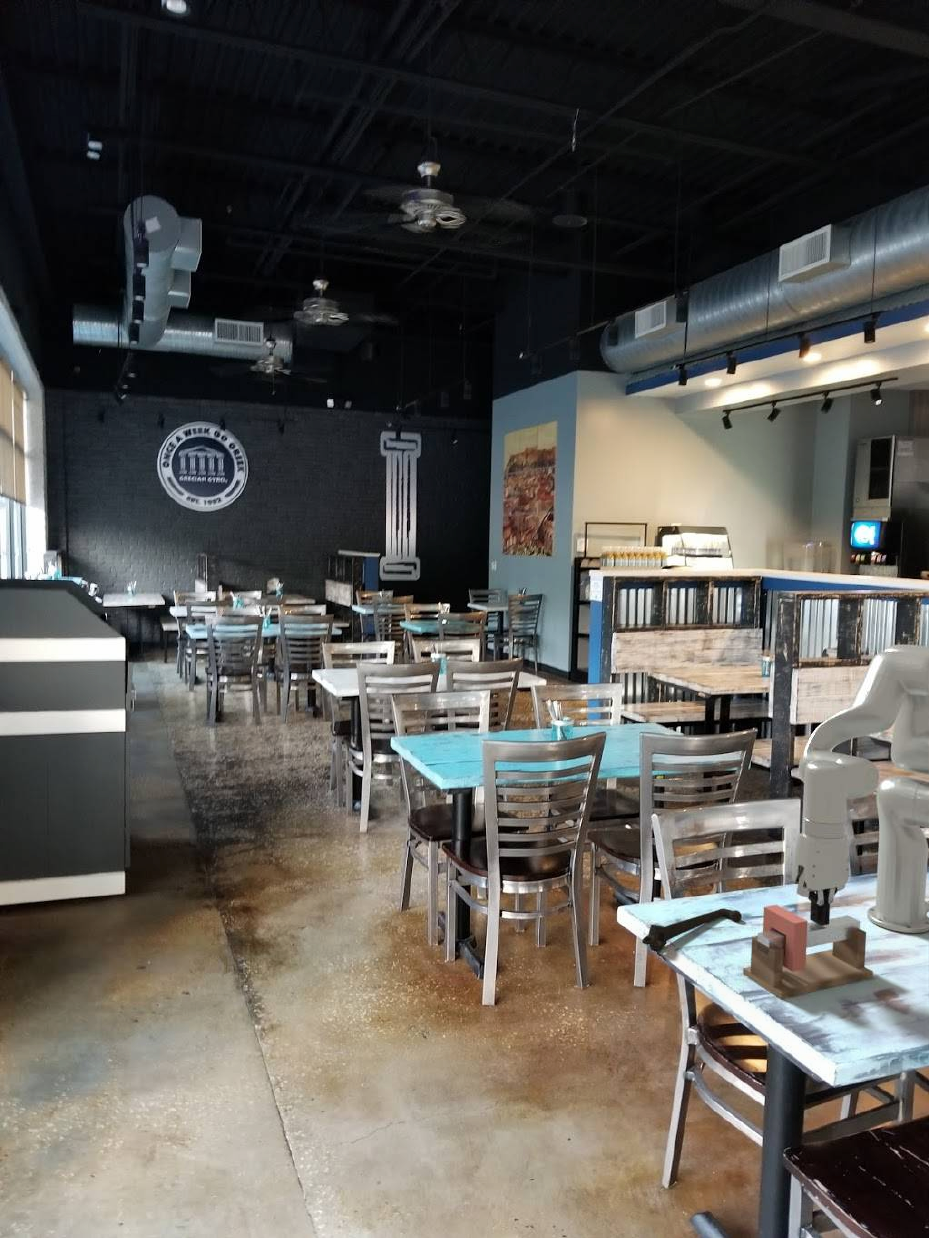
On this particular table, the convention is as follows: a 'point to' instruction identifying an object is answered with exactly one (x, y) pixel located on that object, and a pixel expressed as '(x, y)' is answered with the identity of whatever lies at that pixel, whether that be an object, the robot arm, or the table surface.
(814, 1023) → the table surface
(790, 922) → the salmon pink rectangular block
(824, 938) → the rod
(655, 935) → the wrench
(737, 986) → the table surface
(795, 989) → the pipe stand
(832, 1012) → the table surface
